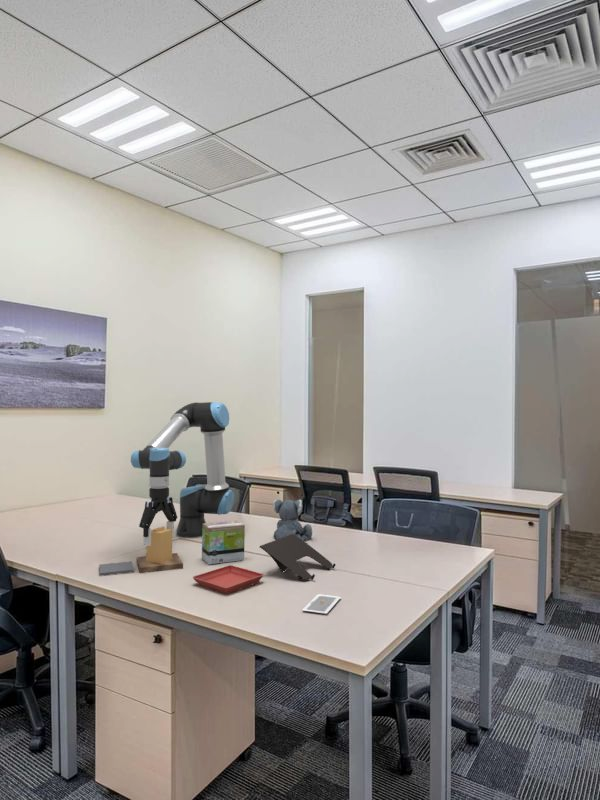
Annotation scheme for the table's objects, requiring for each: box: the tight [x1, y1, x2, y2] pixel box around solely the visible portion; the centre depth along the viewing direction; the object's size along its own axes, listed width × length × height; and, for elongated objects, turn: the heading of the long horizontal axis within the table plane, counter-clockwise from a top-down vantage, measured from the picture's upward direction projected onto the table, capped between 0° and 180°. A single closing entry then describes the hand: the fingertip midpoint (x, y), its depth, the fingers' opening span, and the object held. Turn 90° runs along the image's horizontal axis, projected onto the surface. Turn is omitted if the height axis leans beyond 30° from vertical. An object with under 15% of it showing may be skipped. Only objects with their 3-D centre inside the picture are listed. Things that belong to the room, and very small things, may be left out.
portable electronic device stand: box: [259, 534, 337, 582], centre depth 204 cm, size 23×23×9 cm
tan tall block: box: [145, 526, 173, 563], centre depth 212 cm, size 7×7×12 cm
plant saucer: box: [192, 565, 264, 594], centre depth 189 cm, size 18×18×3 cm
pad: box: [99, 561, 135, 576], centre depth 206 cm, size 12×12×1 cm
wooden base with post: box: [136, 552, 184, 574], centre depth 212 cm, size 16×16×11 cm
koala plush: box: [272, 498, 313, 542], centre depth 251 cm, size 17×18×20 cm
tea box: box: [201, 520, 246, 566], centre depth 219 cm, size 15×10×15 cm
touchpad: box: [301, 593, 342, 614], centre depth 168 cm, size 8×15×2 cm, turn 159°
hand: (158, 541), depth 212 cm, fingers open, 13 cm apart
